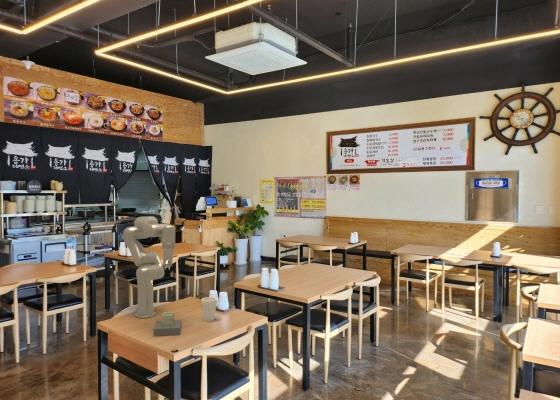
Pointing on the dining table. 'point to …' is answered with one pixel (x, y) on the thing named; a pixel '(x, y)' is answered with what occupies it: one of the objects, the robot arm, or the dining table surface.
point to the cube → (167, 318)
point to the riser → (167, 328)
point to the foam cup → (209, 308)
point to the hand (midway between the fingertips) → (168, 274)
